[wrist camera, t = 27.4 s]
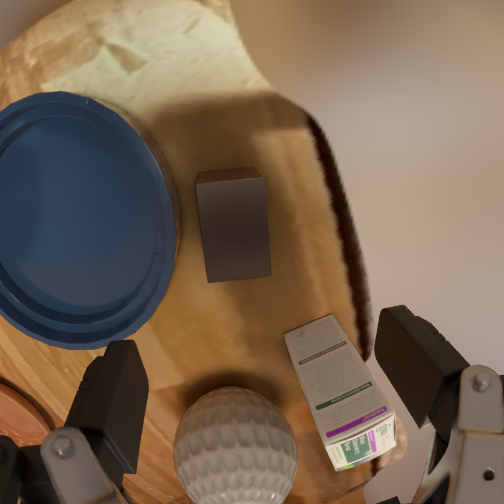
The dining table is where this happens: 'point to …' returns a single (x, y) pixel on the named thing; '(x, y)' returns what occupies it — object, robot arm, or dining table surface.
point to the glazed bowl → (82, 221)
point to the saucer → (20, 419)
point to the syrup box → (341, 394)
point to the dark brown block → (234, 224)
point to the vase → (235, 449)
